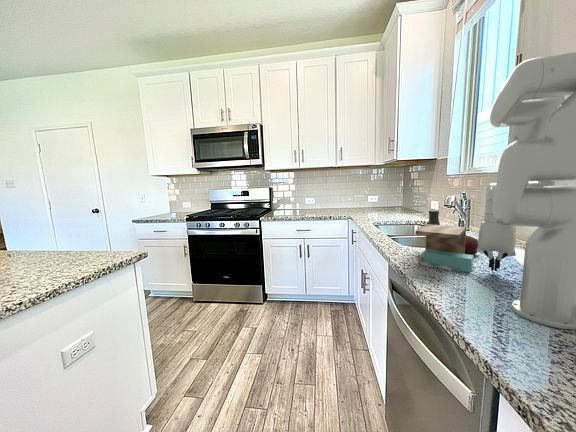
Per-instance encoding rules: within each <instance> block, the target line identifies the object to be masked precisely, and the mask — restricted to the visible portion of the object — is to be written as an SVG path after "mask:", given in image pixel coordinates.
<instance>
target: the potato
mask: <svg viewBox="0 0 576 432" xmlns="http://www.w3.org/2000/svg"><path fill="white" fill-rule="evenodd" d="M477 247H478V240H477V239H476V238H474V237H472V236H470V235H466V240H465V254H468V255H476V254H477V253H478V252H477V251H476V250H477Z"/></svg>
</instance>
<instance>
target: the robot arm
mask: <svg viewBox="0 0 576 432" xmlns="http://www.w3.org/2000/svg"><path fill="white" fill-rule="evenodd" d="M565 96H568V97H567V98H566V97H565ZM489 122H490V124H491V125H492V126H493V127H494V128H495V127H496V128H505V127H506V128H507V127H512V129H511V133H510V136H509V139H508V144H507V146H506V147H505V149H504V151H503V152H502V155H501V157H500V159H499V163H498V167H497V168H498V169H497V175H496V181H495V182H492V183H489V184H488V185H487V186H486V189H485V190H486V191H485V204H484V215H483V217H484V219H483V220H482V221H481V223H480V226H479V232H478V240H477V241H478V247H477V250H476V251H477V253H480V254H484V255H485V256H486V257H487V258H488V259H489V261H488V268H490V271H492V272H493V271H495V272H497V271H498V269H500V268H501V261H502V260H503V259H505V258H506V257H515V256H516V255H517V254H516V247H517V245H516V244H517V231H516V227H535V228H536V227H537V229H536V230H534V232H532V233H531V234H530V236H528V238H527V241H526V243H525V248H524V256H523V257H524V259H523V269H522V270H523V271H522V277H521V290H520V299H515V300H514V301H512V302H511V309H512V311H513V312H514V313H515V314H517V315H518V316H521V317H522V318H525V319H526V320H529V321H531V322H534V323H537V324H540V325H543V326H547V327H552V328H556V329H557V328H558V329H563V330H576V186H572V185H556V182H560V181H561V182H562V181H574V180H576V51H574V52H568V53H562V54H556V55H548V56H544V57H543V56H542V57H536V58H530V59H527V60H524V61H522V62H520V63H519V64H517V65H516V66H515V67H514V69H512V71H511V73H510V74H509V76H508V78H507V79H506V80H505V82H504V83H503V86H502V87H501V88H500V90H499V92H498V93H497V95H496V98H495V100H494V101H493V104H492V106H491V108H490V114H489ZM493 252H497V256H496V257H495V256H494V253H493Z"/></svg>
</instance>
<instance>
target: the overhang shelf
mask: <svg viewBox="0 0 576 432" xmlns="http://www.w3.org/2000/svg"><path fill="white" fill-rule="evenodd" d="M414 234H415V236H416V235H417V236H424V237H425V241H426V249H431V250H439V251H446V252H453V253H460V254H465V240H466V236H467V226H458V225H457V226H456V225H447V224H445V225H444V224H440V225H433V224H427V223H426V224H425V225H424V226H421V227H420V228H417V229H416V230H415V233H414ZM426 249H425V250H426ZM418 265H419V266H423V267H424V266H426V267H429V268H436V269H441V270H447V271H453V269H452V268H453V267H450V266H444V265H439V264H433V263H427V262H423V253H422V254H421V255H420V256H418Z"/></svg>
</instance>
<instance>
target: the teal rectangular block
mask: <svg viewBox="0 0 576 432" xmlns="http://www.w3.org/2000/svg"><path fill="white" fill-rule="evenodd" d="M422 254H423V262H427V263H433V264H439V265H444V266H450V267H453V268H452V270H454V271H455V270H456V271H460V272H467V273H471V272H472V270H473V267H474V255H475V254H473V255H468V254H460V253H453V252H446V251H439V250H431V249H425V250H423V251H422Z"/></svg>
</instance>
